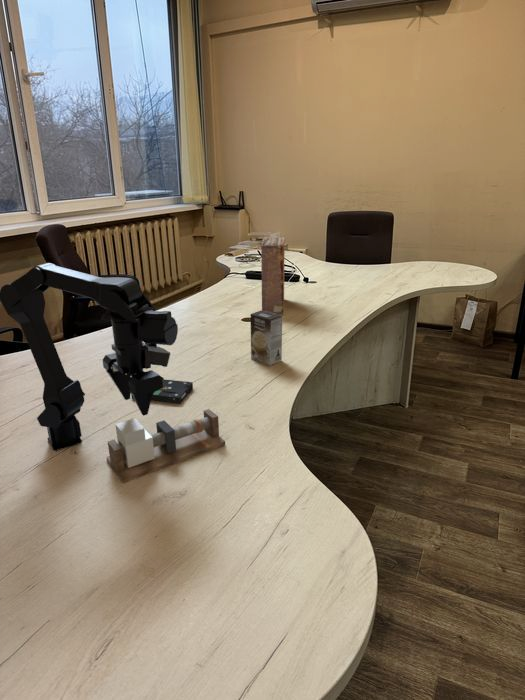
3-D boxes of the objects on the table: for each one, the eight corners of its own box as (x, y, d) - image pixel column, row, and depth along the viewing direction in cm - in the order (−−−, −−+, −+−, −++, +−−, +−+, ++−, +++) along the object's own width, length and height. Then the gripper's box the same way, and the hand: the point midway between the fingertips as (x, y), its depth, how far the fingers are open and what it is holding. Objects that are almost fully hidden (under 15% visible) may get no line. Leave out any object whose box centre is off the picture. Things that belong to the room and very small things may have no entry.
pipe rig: (122, 482, 102) (119, 456, 100) (106, 460, 110) (103, 436, 107) (225, 444, 115) (224, 420, 113) (204, 427, 123) (203, 404, 121)
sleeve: (128, 467, 105) (124, 434, 102) (119, 456, 109) (115, 424, 106) (154, 458, 108) (151, 426, 105) (145, 447, 112) (141, 416, 109)
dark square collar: (168, 453, 109) (166, 432, 107) (158, 443, 114) (156, 422, 112) (176, 450, 110) (174, 430, 109) (166, 440, 115) (164, 420, 113)
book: (265, 299, 236) (264, 236, 225) (284, 299, 235) (284, 236, 224) (261, 314, 212) (261, 245, 201) (283, 314, 212) (283, 245, 201)
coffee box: (249, 359, 165) (249, 313, 159) (262, 353, 169) (262, 309, 164) (270, 366, 159) (269, 319, 153) (282, 360, 164) (283, 314, 158)
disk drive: (193, 390, 145) (147, 385, 148) (193, 381, 143) (146, 376, 147) (180, 406, 135) (131, 400, 138) (179, 397, 134) (130, 391, 137)
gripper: (184, 343, 99) (189, 411, 105) (144, 321, 113) (151, 383, 119) (132, 356, 93) (141, 428, 99) (97, 331, 107) (106, 395, 113)
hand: (136, 406), depth 107 cm, fingers open, 9 cm apart
